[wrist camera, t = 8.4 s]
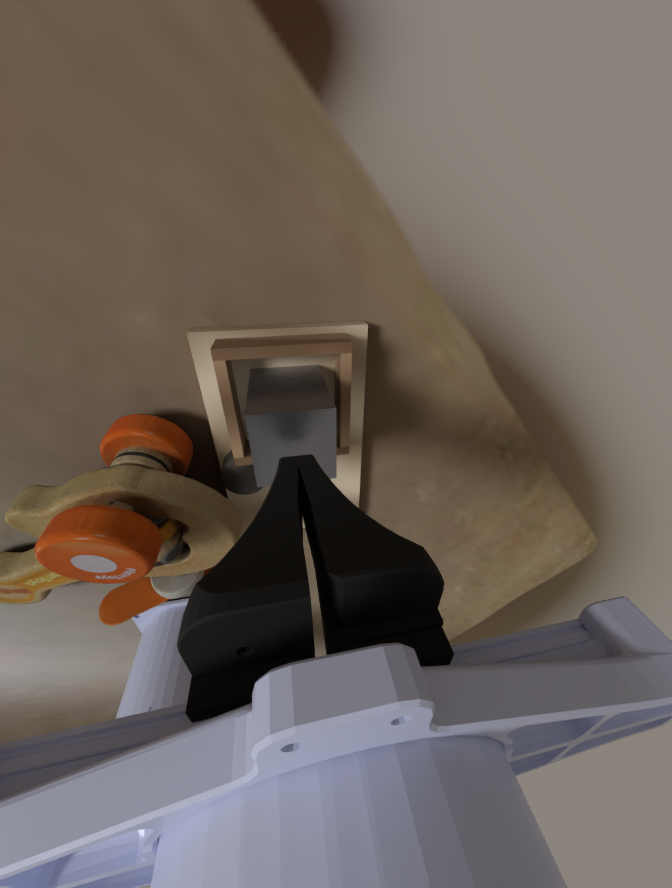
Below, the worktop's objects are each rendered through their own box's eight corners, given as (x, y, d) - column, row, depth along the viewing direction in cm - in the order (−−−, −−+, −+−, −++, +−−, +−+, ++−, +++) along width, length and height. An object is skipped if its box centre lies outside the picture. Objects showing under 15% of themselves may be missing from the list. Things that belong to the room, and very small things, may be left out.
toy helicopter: (166, 392, 18) (290, 508, 27) (-58, 500, 23) (111, 566, 32) (103, 521, 12) (287, 612, 21) (-178, 627, 17) (70, 663, 26)
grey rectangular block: (320, 422, 21) (336, 477, 16) (259, 428, 21) (257, 487, 16) (318, 364, 19) (336, 407, 14) (250, 368, 18) (244, 415, 13)
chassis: (355, 511, 28) (364, 538, 25) (238, 527, 26) (235, 557, 24) (363, 321, 19) (378, 332, 17) (190, 328, 18) (178, 342, 15)
